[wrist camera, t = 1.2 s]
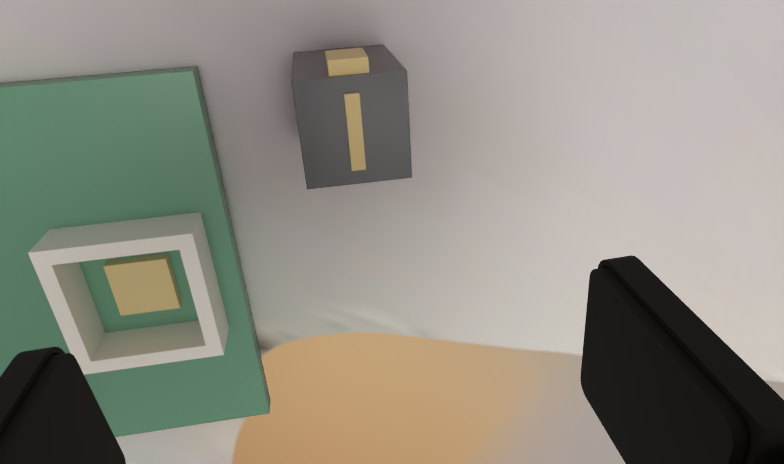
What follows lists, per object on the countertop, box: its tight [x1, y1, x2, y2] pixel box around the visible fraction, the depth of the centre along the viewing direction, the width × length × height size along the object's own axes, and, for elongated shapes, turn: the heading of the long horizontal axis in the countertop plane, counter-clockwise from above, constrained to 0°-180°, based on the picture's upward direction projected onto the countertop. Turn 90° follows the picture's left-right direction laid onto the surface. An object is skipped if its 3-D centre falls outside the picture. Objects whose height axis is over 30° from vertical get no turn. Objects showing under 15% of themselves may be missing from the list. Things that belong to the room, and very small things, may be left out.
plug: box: [292, 45, 412, 189], centre depth 25 cm, size 5×4×7 cm
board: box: [0, 66, 270, 437], centre depth 29 cm, size 22×16×4 cm
